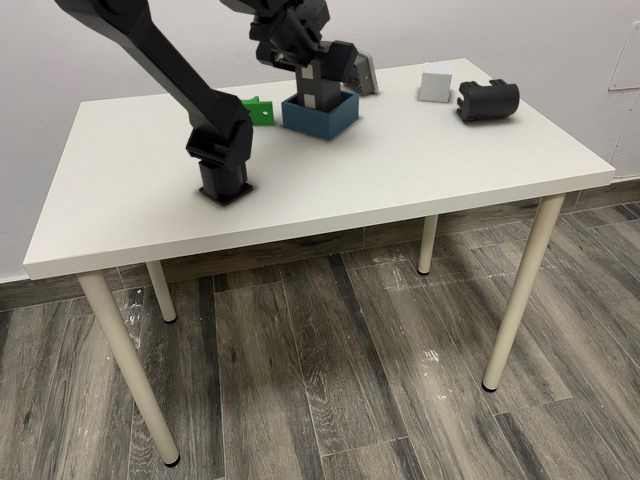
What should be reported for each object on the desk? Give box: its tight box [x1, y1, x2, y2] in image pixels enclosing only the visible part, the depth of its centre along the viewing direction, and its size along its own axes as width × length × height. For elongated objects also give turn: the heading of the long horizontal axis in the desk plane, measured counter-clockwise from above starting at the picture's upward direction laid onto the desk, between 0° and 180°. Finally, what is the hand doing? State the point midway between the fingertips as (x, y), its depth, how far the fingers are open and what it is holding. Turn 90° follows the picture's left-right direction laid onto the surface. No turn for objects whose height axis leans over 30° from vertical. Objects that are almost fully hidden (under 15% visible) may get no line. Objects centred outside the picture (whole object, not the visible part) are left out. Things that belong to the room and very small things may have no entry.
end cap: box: [455, 78, 521, 121], centre depth 93 cm, size 10×7×7 cm
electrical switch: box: [342, 47, 380, 97], centre depth 104 cm, size 9×5×9 cm, turn 32°
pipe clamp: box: [240, 95, 275, 126], centre depth 95 cm, size 11×4×5 cm, turn 89°
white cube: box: [418, 61, 454, 103], centre depth 102 cm, size 6×6×6 cm
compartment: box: [280, 89, 360, 141], centre depth 94 cm, size 11×11×5 cm
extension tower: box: [294, 40, 342, 113], centre depth 90 cm, size 6×6×14 cm
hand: (323, 76), depth 90 cm, fingers closed on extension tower, 7 cm apart
